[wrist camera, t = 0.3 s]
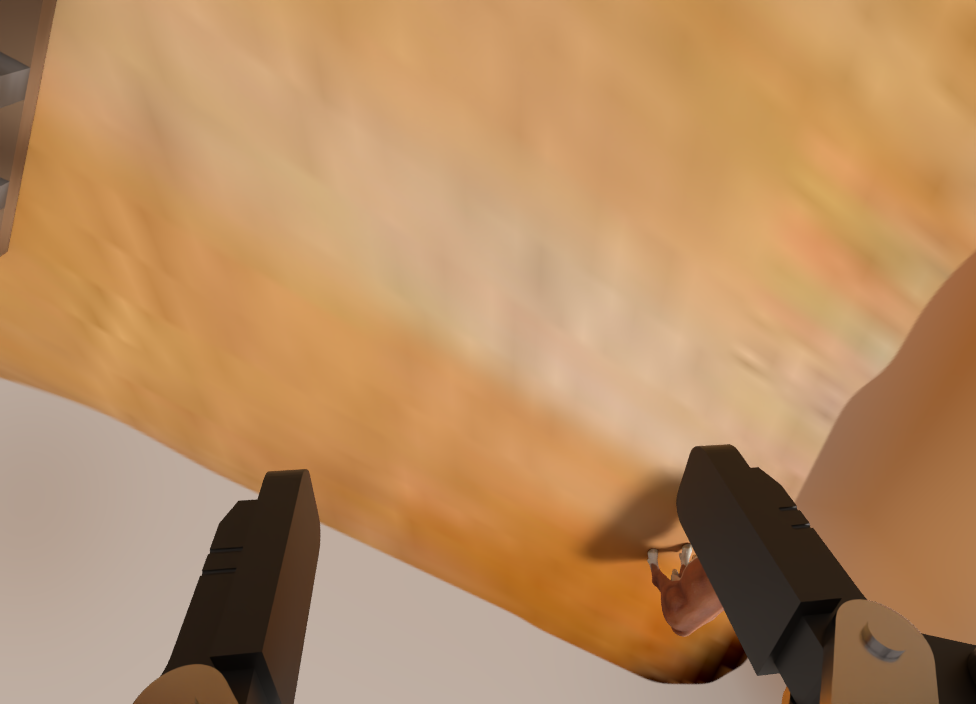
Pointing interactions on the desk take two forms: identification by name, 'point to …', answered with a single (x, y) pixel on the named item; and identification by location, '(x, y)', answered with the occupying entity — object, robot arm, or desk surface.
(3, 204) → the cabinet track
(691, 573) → the bull figurine
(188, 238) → the desk surface
